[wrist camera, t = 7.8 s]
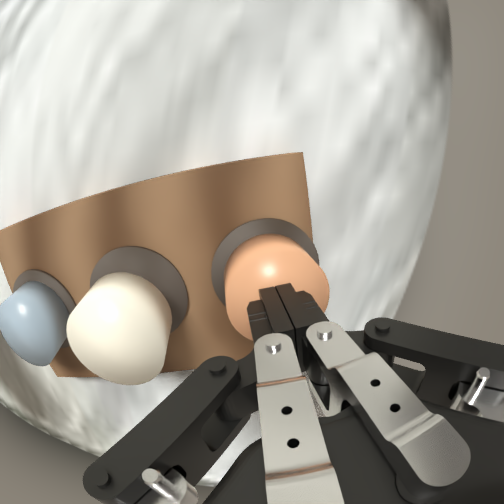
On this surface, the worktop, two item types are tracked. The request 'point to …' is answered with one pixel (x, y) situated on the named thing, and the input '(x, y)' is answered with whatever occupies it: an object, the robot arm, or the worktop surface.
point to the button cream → (121, 329)
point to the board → (165, 246)
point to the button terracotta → (269, 275)
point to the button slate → (34, 322)
